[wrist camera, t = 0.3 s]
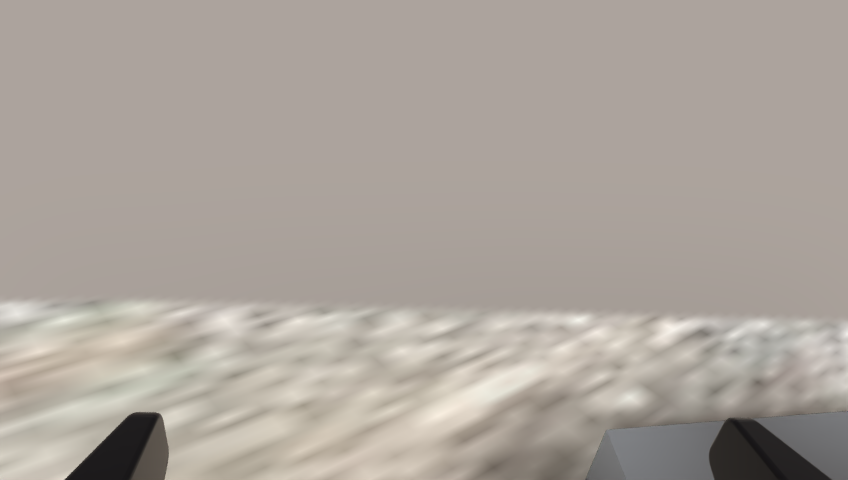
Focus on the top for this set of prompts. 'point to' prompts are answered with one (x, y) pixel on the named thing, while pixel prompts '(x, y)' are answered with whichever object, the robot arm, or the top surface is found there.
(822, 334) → the top surface
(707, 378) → the top surface
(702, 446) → the well block
